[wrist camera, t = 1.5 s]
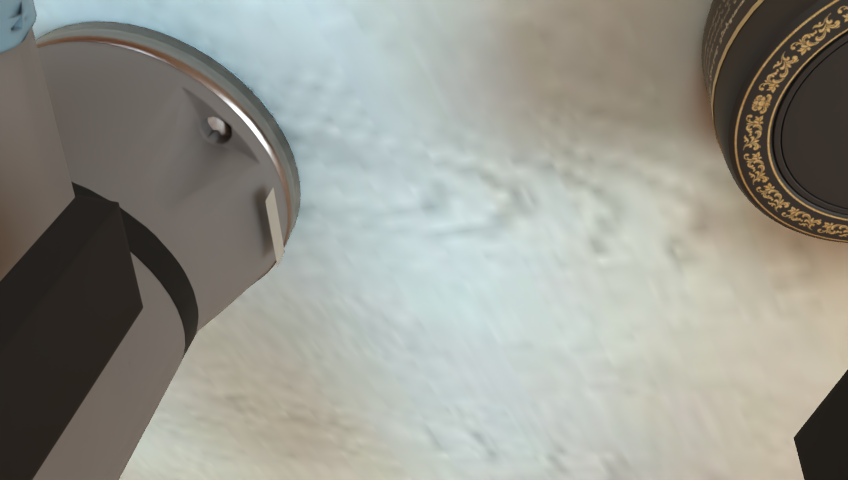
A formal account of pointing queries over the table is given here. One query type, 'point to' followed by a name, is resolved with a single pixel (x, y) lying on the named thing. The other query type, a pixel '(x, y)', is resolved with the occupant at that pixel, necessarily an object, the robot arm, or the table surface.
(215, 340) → the table surface
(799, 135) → the jar
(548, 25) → the table surface
